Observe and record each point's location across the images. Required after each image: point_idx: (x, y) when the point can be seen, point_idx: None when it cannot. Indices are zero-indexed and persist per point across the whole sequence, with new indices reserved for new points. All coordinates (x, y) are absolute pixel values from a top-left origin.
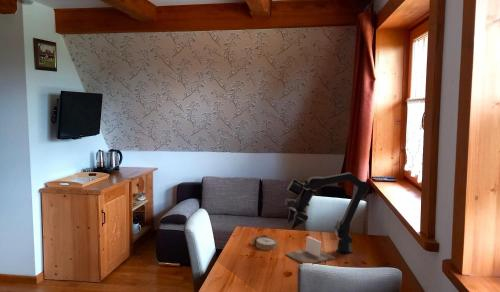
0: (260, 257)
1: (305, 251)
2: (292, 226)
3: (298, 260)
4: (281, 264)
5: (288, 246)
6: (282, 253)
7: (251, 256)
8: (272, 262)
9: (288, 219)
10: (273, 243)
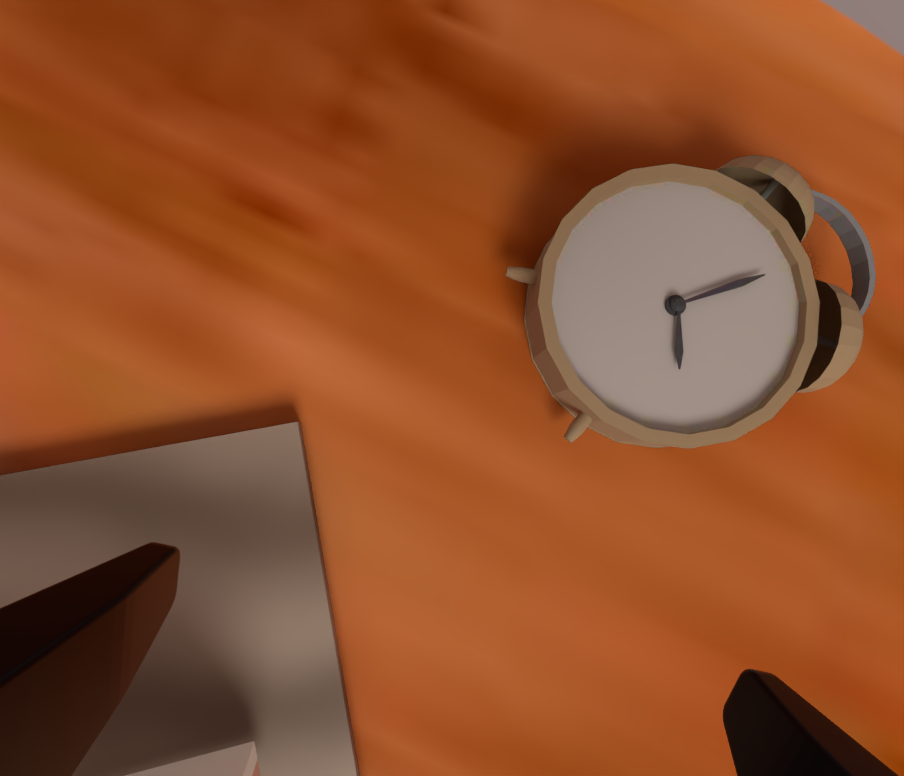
0: (330, 107)
1: (259, 725)
2: (86, 578)
3: (3, 476)
4: (29, 234)
5: (571, 592)
6: (365, 406)
7: (392, 31)
8: (133, 164)
9: (803, 745)
10: (596, 371)
